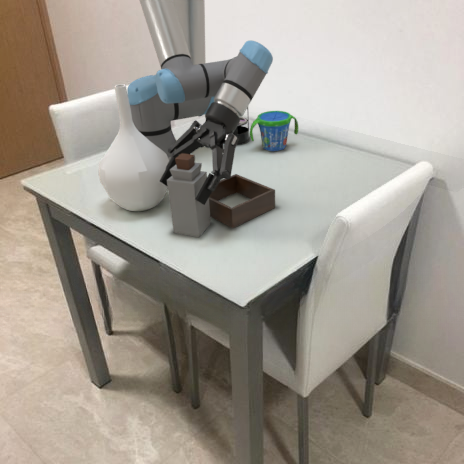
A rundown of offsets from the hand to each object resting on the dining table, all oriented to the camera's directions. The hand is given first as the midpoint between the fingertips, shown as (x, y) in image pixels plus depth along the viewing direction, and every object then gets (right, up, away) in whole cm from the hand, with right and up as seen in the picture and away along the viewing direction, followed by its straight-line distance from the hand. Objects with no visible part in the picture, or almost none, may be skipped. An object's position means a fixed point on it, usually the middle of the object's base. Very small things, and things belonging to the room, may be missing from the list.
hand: (181, 193), depth 115 cm
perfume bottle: (+2, -7, +7) cm, 10 cm away
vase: (-13, +1, +19) cm, 23 cm away
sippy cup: (+25, +24, +46) cm, 58 cm away
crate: (+12, -1, +14) cm, 19 cm away
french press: (+13, +29, +54) cm, 63 cm away
